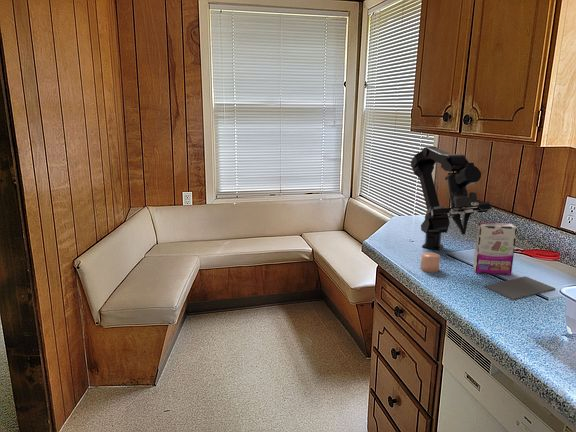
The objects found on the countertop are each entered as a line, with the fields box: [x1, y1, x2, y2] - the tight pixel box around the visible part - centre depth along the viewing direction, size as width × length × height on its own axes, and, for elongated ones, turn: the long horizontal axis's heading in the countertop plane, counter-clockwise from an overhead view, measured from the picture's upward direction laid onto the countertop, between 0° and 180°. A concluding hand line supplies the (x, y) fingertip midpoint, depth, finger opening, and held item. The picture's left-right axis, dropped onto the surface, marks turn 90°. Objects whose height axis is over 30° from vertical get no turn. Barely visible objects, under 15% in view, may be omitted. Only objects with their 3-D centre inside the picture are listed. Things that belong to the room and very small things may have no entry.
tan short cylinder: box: [420, 251, 441, 273], centre depth 142 cm, size 6×6×5 cm
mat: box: [483, 275, 556, 301], centre depth 127 cm, size 10×18×1 cm, turn 113°
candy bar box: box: [472, 222, 518, 276], centre depth 138 cm, size 11×5×16 cm, turn 79°
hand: (463, 234), depth 142 cm, fingers closed
